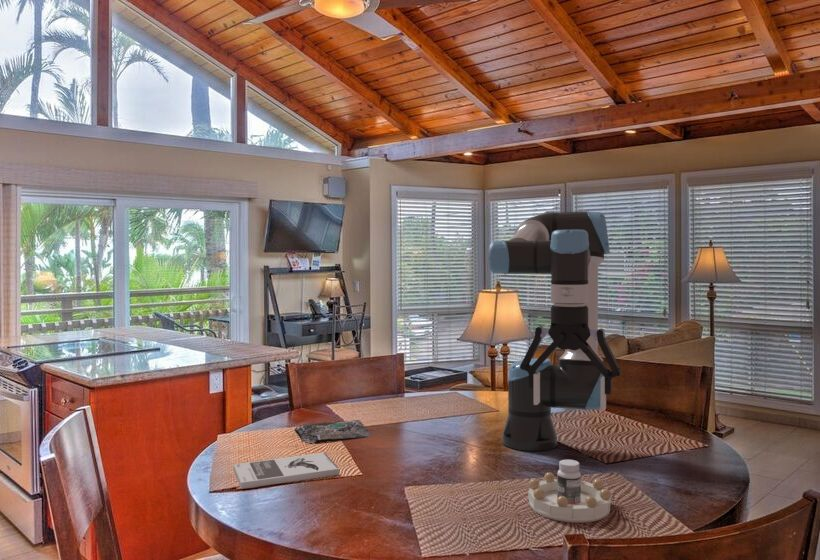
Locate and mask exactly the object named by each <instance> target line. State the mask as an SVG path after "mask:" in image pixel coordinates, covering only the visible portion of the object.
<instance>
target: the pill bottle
mask: <svg viewBox="0 0 820 560" xmlns="http://www.w3.org/2000/svg"><path fill="white" fill-rule="evenodd" d="M558 463H559V465H558V466H559V467H558V468H559V469H558V470H557V474H556V476H557V498H558V497H559V496H564V497H566V498H567V500H568V505H571V506H575V505H578V504H580V502H581V481H582V479H581V478H582V475H581V471H579V470H580V462H579V461H577V460H574V459H561V460H560V461H559V462H558Z"/></svg>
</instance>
